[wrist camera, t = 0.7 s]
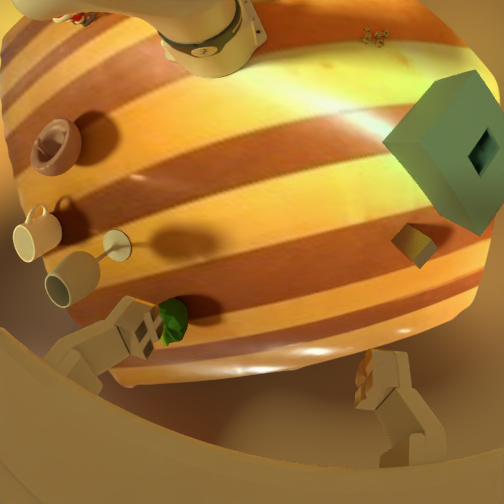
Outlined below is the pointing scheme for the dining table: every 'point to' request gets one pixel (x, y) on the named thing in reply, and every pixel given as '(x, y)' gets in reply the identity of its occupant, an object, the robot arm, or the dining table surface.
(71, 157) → the mortar and pestle
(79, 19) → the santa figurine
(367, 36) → the dice set
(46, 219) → the mug
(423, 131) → the coin box
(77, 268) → the wineglass
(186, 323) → the bell pepper
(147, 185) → the dining table surface
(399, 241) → the brown upright bar
